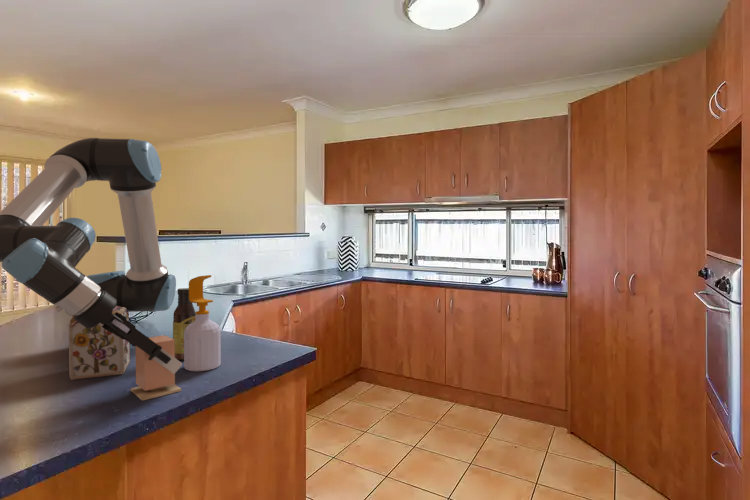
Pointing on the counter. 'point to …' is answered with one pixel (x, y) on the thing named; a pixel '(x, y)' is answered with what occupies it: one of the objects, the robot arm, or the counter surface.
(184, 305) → the sauce bottle
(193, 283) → the soap bottle
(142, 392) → the post
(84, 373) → the decorative jar
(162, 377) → the peach block
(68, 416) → the counter surface
